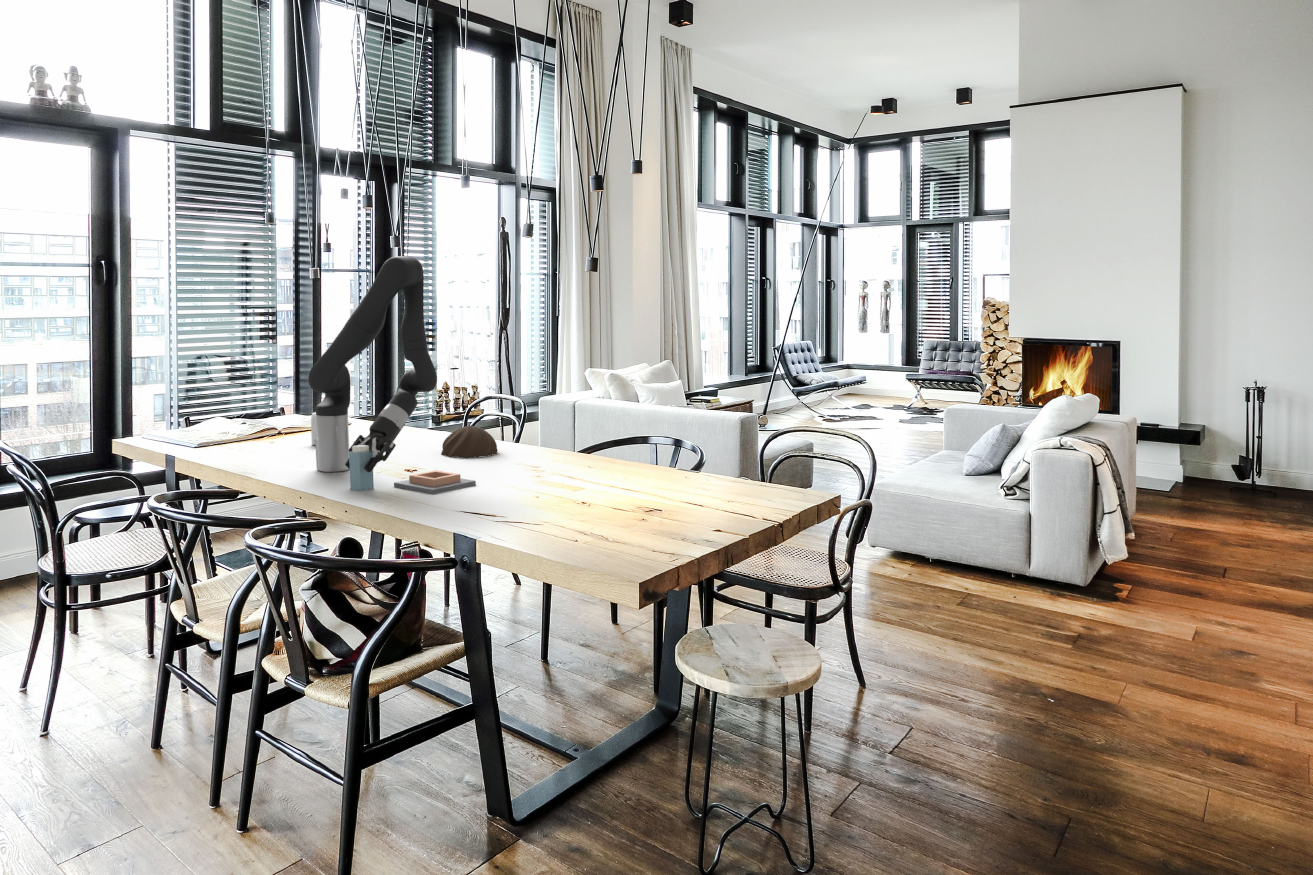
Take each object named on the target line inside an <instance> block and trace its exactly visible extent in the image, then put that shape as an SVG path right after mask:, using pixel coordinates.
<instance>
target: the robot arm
mask: <svg viewBox="0 0 1313 875" xmlns="http://www.w3.org/2000/svg"><path fill="white" fill-rule="evenodd" d="M423 268H424V267H423V265H422V263H421V262H420V261H419V259H417V258H416V257H413V256H406V255H405V256H403V255H402V256H401V255H399V256H392V257H390V258H388V259H386V260H385V261H384V263H383V264H382V266H381V267H380V269H379V271H378V273H377V275H376V277H375V279H374V281H373V283H372V284H371V286H370V288H369V290H368V291H367V293H366V294H365V296H364V297H363V298H362V300H361V301H360V303H359V304H358V305H357V307H356V308H355V310H354V311H353V312H352V314H351V315H350V317H349V318H348V320H347V321H346V323H345V324H344V326H343V327H342V329H341V330H340V331H339V333H338V335H336V336H335V339H334V340H333V342H332V343H331V344H330V346H329V347H328V349H326V350H325V352H324V353H323V354H322V355H321V356H320V357H319V358H318V359H317V361H315V363H314V364H313V365H312V367H311V368H310V370H309V372H308V373H309V374H308V376H307V377H308V378H307V381H308V385H309V387H310V388H311V390H312V391H313V392H316V393H319V394H324V398H323V399H322V401H321V402H320V403H318V404H317V405H316V407H315V412H316V424H317V439H316V440H315V442H316V445H315V460H316V464H315V465H316V470H318V471H319V472H323V473H325V472H326V473H329V472H331V473H332V472H333V473H335V472H338V473H339V472H344V471H348V470H350V464H349V452H351V451H352V446H355V445H368V446H369V451H372V453H373V454H372V457H373V458H370V459H369V461H368V462H367V464H366V465H365V467H364V469H365V470H366V471H367V472H371V471H372V470H373V471H374V468H375V467H376V466H377V464H379V463H381V461H382V462H385V461H387V459H388V458H389V456H390V455H391V454H392V452H393V451H394V449H395V448H396V444H395V442H394V441H395V440H396V439H397V437H398V435H399V434H400V432H401V431H402V429H403V428H404V427H405V425H406V424H407V423H408V422H407V421H408V420H409V418H410V417H411V415H412V414H413V412H414V411H415V410H416V408H417V406H418V399H417V398H416V395H418V394H419V393H429V392H432V391H433V390H435V388H436V386H437V384H438V376H437V375H438V374H437V370H436V368H435V366H434V363H433V361H432V358H431V355H430V354H429V349H428V341H427V335H426V326H425V316H424V315H425V314H424V313H425V311H424V307H425V306H424V304H425V302H424V301H425V300H424V298H425V296H424V295H425V294H424V285H425V284H424V283H425V281H424V280H425V279H424V277H425V276H424V275H425V274H424V269H423ZM401 290H402V293H403V300H404V301H403V302H404V308H403V316H402V320H401V324H400V325H401V326H400V340H401V345H402V351H403V356H404V359H405V360H406V361H409V362H411V364H412V366H413V368H410V369H409V370H407V371H406V372H405V373H404V374H403V375H402V377H401V378H400V381H399V384H398V386H397V388H396V391H395V394H394V395H393V396H392V398H391V399H390V401H389V402H388V403H387V404H386V406H384V407H383V409H382V410H381V411H380V413H379V414H378V415H377V417H376V419H375V420H374V421H373V422H372V423H371V425H370V427H369V434H368V435H367V436H366V437H364V436H363V435H362V434H359V436H358V437H357V438H356V440H355V441H354V442H353V443H352V444H351V446H350V439H349V438H350V436H349V434H350V433H349V431H350V430H349V408H350V407H349V406H350V405H351V375H350V371H349V369H348V367H347V365H346V364H347V363H349V361H351V360H352V359H353V358H354V357H356V356H358V355H359V354H360V353H362V352H363V351H364V350H366V349H367V348H368V347H369V346H371V344H372V343H373V342H374V341H375V339H376V338H377V336H378V335H379V334H380V333H381V331H382V329H383V328H384V325H385V322H386V316H387V310H388V307H389V305H390V304H391V302H392V301H393V300H394V299H395V297H396V295H398V294H399V292H400V291H401Z"/></svg>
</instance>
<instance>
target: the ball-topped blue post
mask: <svg viewBox="0 0 1313 875" xmlns="http://www.w3.org/2000/svg"><path fill="white" fill-rule="evenodd" d="M351 446H352V445H351ZM372 454H373V453H372V451H369V446H368V445H355V446H352V451H351V452H349V464H350V469H349V486H350V490H355V491H358V492H359V491H360V492H363V491H368V490H372V489H375V487H374V485H375V484H374V469H373V470H372V471H371V472H367V471H366V470H365V469H364V467H365V465H366V464H367V462H368V461H369V459H370V458H373V457H372Z"/></svg>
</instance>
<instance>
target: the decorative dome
mask: <svg viewBox="0 0 1313 875" xmlns="http://www.w3.org/2000/svg"><path fill="white" fill-rule="evenodd" d="M497 451H498V452H499V450H498V446H497V442H496V440H495V438H494V437H493V436H492V435H491V434H490V433H489V432H488V431H487V430H485V429H483V428H482V427H478V426H475V425H466V426H463V427H459V428H457V429H456V430H455V431H453V432H452V433H451V434H449V435H448V436H447V437H446V438H445V439H444V440H443V442H442V450H441V454H440V455H441V456H445V457H448V456H449V457H448V458H461V457H462V458H463V459H471V458H470V457H473V458H480V457H479V456H487V457H489V456H488V455H491V456H493V455H492V454H497V455H498V452H497Z"/></svg>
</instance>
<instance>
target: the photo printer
mask: <svg viewBox="0 0 1313 875" xmlns="http://www.w3.org/2000/svg"><path fill="white" fill-rule="evenodd" d="M310 428H311V445H312V446H316V442H315V440H316V439H317V424H316V411H315V412H312V413H311V418H310Z"/></svg>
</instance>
